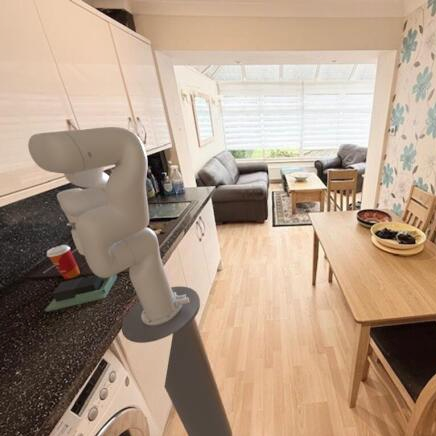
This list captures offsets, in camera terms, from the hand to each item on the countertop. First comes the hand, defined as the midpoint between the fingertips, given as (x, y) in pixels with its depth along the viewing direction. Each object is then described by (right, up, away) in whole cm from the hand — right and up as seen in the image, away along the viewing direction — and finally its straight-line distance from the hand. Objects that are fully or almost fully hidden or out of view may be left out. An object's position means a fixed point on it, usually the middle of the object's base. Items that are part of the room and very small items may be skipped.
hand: (106, 264), depth 93 cm
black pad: (-8, -10, +3) cm, 13 cm away
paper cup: (-26, -8, +14) cm, 30 cm away
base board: (-11, -12, +2) cm, 16 cm away
